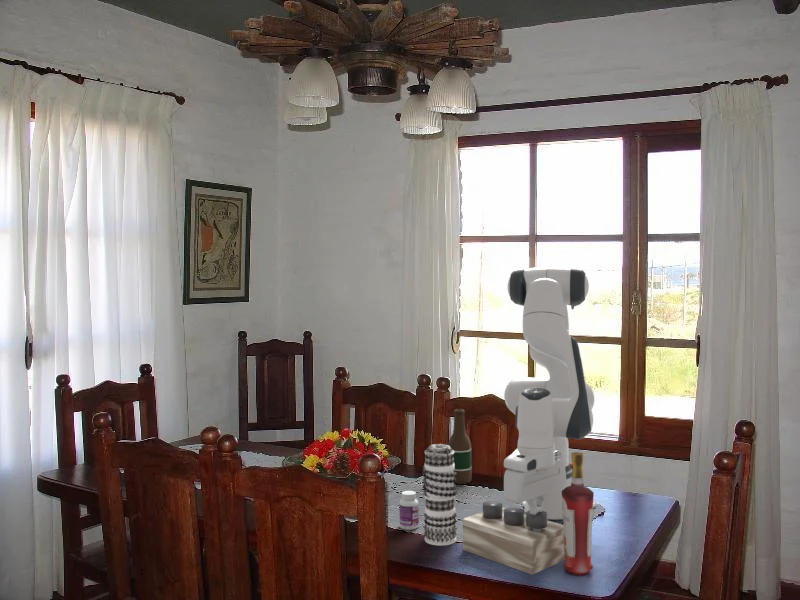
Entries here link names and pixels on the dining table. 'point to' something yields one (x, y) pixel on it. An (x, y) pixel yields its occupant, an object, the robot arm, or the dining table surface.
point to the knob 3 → (536, 521)
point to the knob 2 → (514, 516)
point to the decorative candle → (439, 495)
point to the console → (514, 543)
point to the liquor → (577, 520)
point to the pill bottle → (409, 511)
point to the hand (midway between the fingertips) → (536, 513)
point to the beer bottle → (461, 449)
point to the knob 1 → (492, 510)
